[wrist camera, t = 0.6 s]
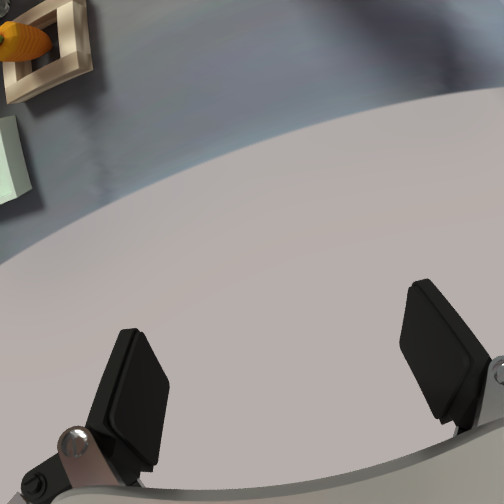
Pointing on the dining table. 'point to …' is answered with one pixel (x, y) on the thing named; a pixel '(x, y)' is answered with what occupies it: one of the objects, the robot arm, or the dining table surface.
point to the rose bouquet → (4, 7)
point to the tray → (11, 162)
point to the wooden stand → (70, 42)
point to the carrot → (22, 42)
